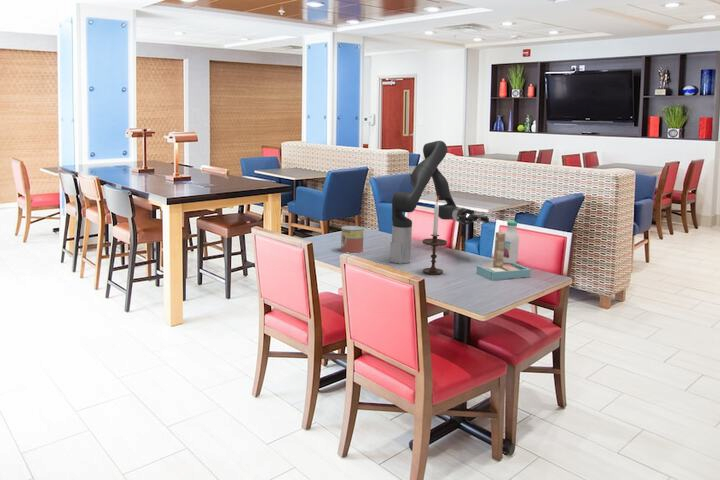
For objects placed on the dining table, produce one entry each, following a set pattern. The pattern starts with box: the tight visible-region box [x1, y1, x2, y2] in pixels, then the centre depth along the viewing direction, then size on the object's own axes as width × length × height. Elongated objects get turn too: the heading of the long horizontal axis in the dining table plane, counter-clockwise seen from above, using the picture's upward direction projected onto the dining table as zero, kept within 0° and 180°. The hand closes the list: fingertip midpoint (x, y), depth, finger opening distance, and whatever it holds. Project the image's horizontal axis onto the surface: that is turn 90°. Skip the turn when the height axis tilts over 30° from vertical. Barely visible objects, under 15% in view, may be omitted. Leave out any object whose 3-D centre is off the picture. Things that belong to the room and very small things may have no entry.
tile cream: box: [489, 268, 506, 272], centre depth 286 cm, size 6×6×3 cm
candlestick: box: [421, 196, 448, 276], centre depth 285 cm, size 11×11×35 cm
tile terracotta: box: [502, 266, 519, 271], centre depth 289 cm, size 6×6×3 cm
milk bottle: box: [503, 220, 520, 264], centre depth 310 cm, size 8×8×20 cm
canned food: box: [340, 225, 365, 255], centre depth 323 cm, size 11×11×12 cm
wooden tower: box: [484, 231, 512, 270], centre depth 290 cm, size 3×14×18 cm, turn 112°
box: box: [476, 263, 532, 281], centre depth 287 cm, size 12×20×4 cm, turn 112°
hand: (480, 220), depth 300 cm, fingers open, 8 cm apart
